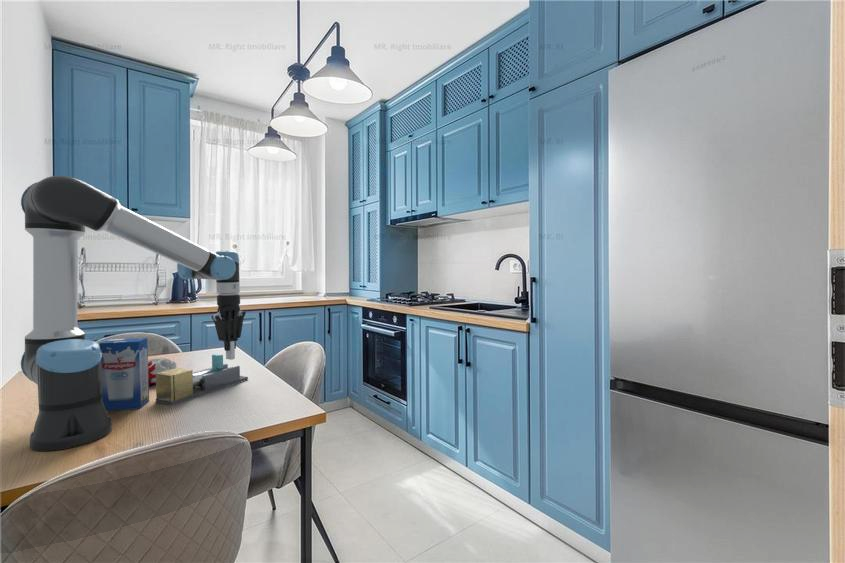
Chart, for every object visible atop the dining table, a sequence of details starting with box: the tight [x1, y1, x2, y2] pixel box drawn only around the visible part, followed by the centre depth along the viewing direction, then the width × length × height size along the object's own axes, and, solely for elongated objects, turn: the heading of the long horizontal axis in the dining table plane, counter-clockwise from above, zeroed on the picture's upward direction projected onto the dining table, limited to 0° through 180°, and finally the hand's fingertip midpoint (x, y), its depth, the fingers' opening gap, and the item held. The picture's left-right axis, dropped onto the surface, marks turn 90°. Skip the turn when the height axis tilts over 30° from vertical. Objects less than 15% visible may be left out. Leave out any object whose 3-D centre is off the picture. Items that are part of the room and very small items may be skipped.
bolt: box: [193, 353, 224, 387], centre depth 131 cm, size 16×4×8 cm, turn 157°
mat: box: [155, 375, 249, 406], centre depth 133 cm, size 29×8×1 cm, turn 157°
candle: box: [148, 357, 178, 386], centre depth 139 cm, size 9×11×15 cm
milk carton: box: [98, 337, 150, 412], centre depth 117 cm, size 10×6×20 cm, turn 105°
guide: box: [155, 363, 241, 402], centre depth 131 cm, size 25×7×8 cm, turn 157°
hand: (230, 358), depth 142 cm, fingers closed
